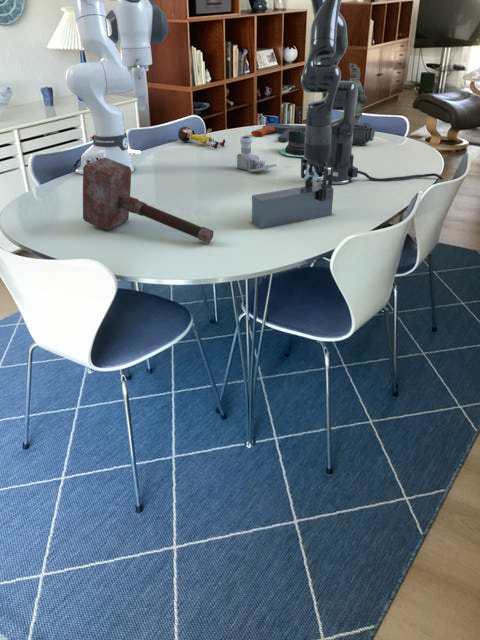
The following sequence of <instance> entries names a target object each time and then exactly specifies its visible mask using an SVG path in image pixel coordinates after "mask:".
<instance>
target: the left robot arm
mask: <svg viewBox="0 0 480 640" xmlns="http://www.w3.org/2000/svg"><path fill="white" fill-rule="evenodd" d="M110 1H112V2H116V3H115V4H116V6H115V7H114V9H110V10H109V11H108V13H107V11H106V8H105V4H104V0H73V12H74V13H73V14H74V20H75V24H76V31H77V34H78V39H79V44H80V45H81V47H82V48H83V50H85V51H86V52H88V53H90V54H92V55H94V56H96V58H98V59H99V61H86V62H79V63H76V64H73V65H69V67H68V68H67V70H66V73H65V83H66V85H67V87H68V89H69V90H70V92H71V93H72V94H74V96H76V97H78V98H79V99H80V100H81V101H83V103H84V104H85V105H86V106H87V108H88V109H89V111H90V112H89V113H90V114H91V118H92V122H93V126H94V133H95V134H93V135H92V136H90V137H89V141H92V145H91V146H90V147H88V148H87V149H86V150H85V151H84V152H83V153H82V154H81V155H80V156H79V159H77V160H76V161H75V163H73V167H77V166H78V164H79V163H80V166H79V167H77V168H76V169H75V174H79V175H83V167H84V166H85V165H86V164H89V163H92V162H94V161H97V160H100V159H102V158H108V159H111V160H113V161H116V162H118V163H121V164H123V165H126V166H129V167H130V169H131V173H133V172H134V171H135V168H134V165H133V164H132V160H131V156H130V153H132V154H141V150H139V149H138V150H137V149H129V142H128V135H127V132H126V126H125V119H124V118H125V117H124V112H123V111H122V110H121V108H120V107H118V106H116V105H114V104H112V103H109V102H107V101H106V100H105V96H106V95H107V96H108V95H119V94H125V93H129V92H132V91H133V92H134V96H135V97H136V99H137V104H138V107H139V108H138V110H139V112H146V97H147V96H148V85H147V84H148V83H147V75H146V72H149V71H150V69H149V66H151V65H153V57H152V55H153V54H152V45H160V44H162V42H163V41H164V40H165V39H166V37H167V36H168V34H169V21H168V18H167V16H166V13H165V12H164V11H163V9H162V8H160V7H159V6H158V5H156V4H155V2H154V1H153V0H110ZM115 44H116V45H119V46H120V47H119V49H120V51H119V50H118V48H117V46H116V45H115Z"/></svg>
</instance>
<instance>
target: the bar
mask: <svg viewBox="0 0 480 640" xmlns="http://www.w3.org/2000/svg"><path fill="white" fill-rule="evenodd" d="M321 183H322V185H323V182H321ZM318 193H319V186H318V183H316V184H313V185H310V186H305V185H304V186H299V187H293V188H287V189H281V190H275V191H269V192H265V193H264V192H263V193H258V194H252V195H251V223H252V224H253V225H255V226H256V227H258V228H259V229H265V228H266V229H267V228H271V227H277V226H281V225H286V224H291V223H296V222H297V223H298V222H303V221H308V220H313V219H317V218H322V217H329V216H332V215H333V201H334V187H333V186H332V187H331V188H327V190H326V200H325V201H321V202H320V201H318Z"/></svg>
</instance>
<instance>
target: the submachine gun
mask: <svg viewBox="0 0 480 640" xmlns="http://www.w3.org/2000/svg"><path fill="white" fill-rule="evenodd" d="M298 128H306V125H298V124H288V123H286V124H285V123H273V122H269V123H265V125H262V127H261V128H258V129H254V130H252V131H251V132H250V133H251V134H250V135H251V136H255V137H262V136H264V135H266V134H271V133H278V134H280V135H279V136H278V137H277V141H278V142H288V140H289V131H291V130H294V129H298Z"/></svg>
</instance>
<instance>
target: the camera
mask: <svg viewBox="0 0 480 640" xmlns="http://www.w3.org/2000/svg"><path fill="white" fill-rule="evenodd" d="M239 140H240V153H238V154H236V168H237V169H240V170H244V171H248V173H254V172H261V171H265V170H267V169H271V168H274V167H277V164H276V163H273V164H267V165H266V161H265V160H261V159H260V156H259V155H255V154H252V143H253V141H252V140H253V139H252V135H242V136H240V139H239Z"/></svg>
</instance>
